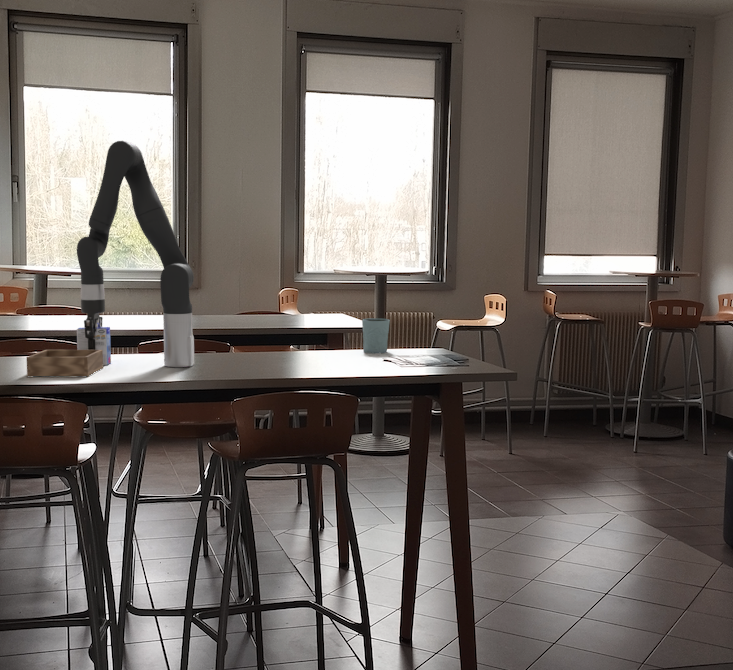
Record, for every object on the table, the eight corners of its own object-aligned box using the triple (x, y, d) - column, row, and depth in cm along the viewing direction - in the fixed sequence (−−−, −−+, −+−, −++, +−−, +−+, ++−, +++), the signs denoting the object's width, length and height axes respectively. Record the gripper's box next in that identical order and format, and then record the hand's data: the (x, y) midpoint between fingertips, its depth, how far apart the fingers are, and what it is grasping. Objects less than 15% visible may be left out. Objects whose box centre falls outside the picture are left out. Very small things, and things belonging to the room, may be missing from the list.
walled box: (103, 368, 292) (102, 349, 291) (88, 377, 274) (87, 357, 273) (46, 368, 291) (45, 349, 290) (27, 377, 273) (26, 357, 272)
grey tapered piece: (368, 349, 342) (368, 317, 341) (393, 351, 338) (393, 318, 337) (357, 352, 332) (357, 320, 331) (383, 354, 329) (384, 321, 328)
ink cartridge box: (111, 363, 303) (110, 319, 302) (108, 365, 298) (106, 321, 296) (81, 363, 303) (80, 319, 301) (77, 365, 297) (75, 321, 296)
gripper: (98, 299, 291) (100, 352, 293) (109, 296, 305) (111, 347, 307) (75, 299, 291) (76, 352, 293) (87, 296, 305) (88, 347, 307)
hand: (94, 349), depth 300 cm, fingers closed on ink cartridge box, 5 cm apart
